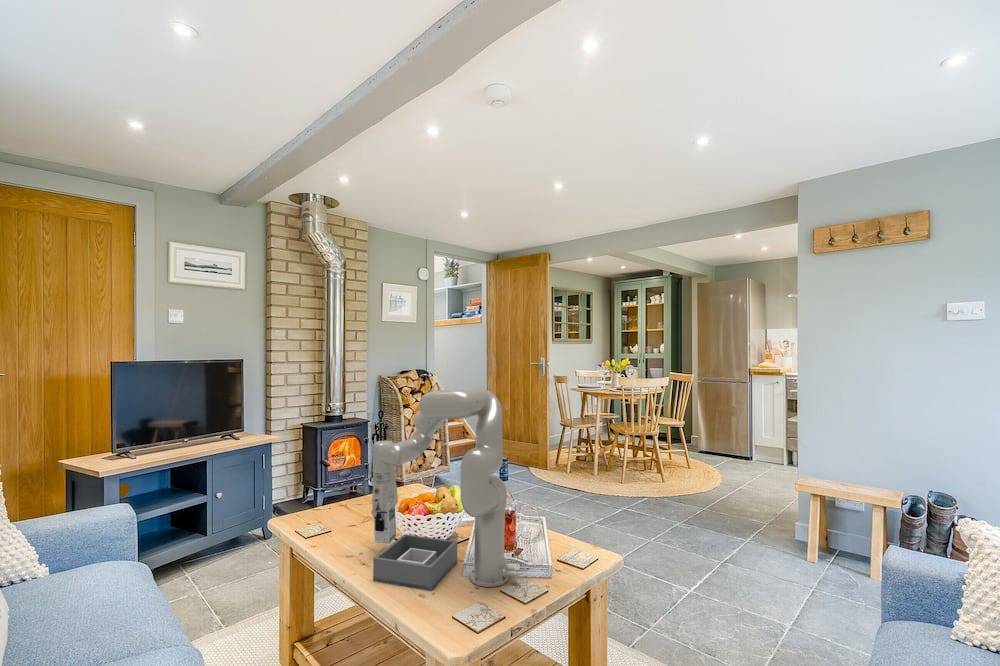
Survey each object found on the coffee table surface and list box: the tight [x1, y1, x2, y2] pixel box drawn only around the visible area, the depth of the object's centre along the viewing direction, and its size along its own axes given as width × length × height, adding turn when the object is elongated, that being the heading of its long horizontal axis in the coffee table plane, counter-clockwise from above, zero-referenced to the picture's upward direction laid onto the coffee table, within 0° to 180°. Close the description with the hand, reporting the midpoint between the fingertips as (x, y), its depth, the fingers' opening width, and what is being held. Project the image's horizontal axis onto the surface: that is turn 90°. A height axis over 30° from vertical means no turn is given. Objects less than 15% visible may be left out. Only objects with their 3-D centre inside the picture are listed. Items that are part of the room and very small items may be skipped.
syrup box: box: [373, 501, 397, 544], centre depth 173 cm, size 6×6×14 cm
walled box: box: [372, 533, 458, 592], centre depth 160 cm, size 20×20×7 cm
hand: (384, 526), depth 173 cm, fingers closed on syrup box, 6 cm apart
